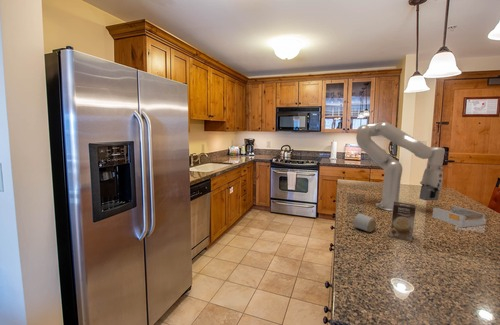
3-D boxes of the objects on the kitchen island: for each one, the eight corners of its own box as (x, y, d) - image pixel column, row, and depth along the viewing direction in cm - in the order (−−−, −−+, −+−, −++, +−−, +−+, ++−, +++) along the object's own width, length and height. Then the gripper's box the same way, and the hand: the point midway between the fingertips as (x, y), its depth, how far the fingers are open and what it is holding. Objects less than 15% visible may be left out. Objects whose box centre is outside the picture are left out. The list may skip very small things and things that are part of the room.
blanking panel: (425, 200, 157) (427, 187, 155) (419, 198, 160) (421, 185, 159) (437, 200, 159) (440, 187, 158) (431, 198, 163) (433, 185, 162)
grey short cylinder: (368, 234, 126) (369, 219, 125) (353, 228, 133) (354, 214, 132) (379, 229, 132) (380, 215, 132) (364, 224, 139) (365, 211, 138)
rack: (461, 227, 137) (462, 216, 136) (432, 217, 152) (433, 207, 152) (483, 224, 141) (485, 214, 140) (452, 215, 157) (453, 205, 156)
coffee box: (389, 237, 123) (392, 204, 121) (390, 232, 129) (393, 201, 127) (412, 241, 119) (415, 207, 117) (412, 236, 124) (415, 204, 122)
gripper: (452, 170, 150) (446, 200, 153) (426, 165, 166) (421, 192, 169) (442, 170, 148) (437, 200, 151) (417, 165, 164) (412, 193, 167)
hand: (428, 196), depth 160 cm, fingers closed on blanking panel, 4 cm apart
